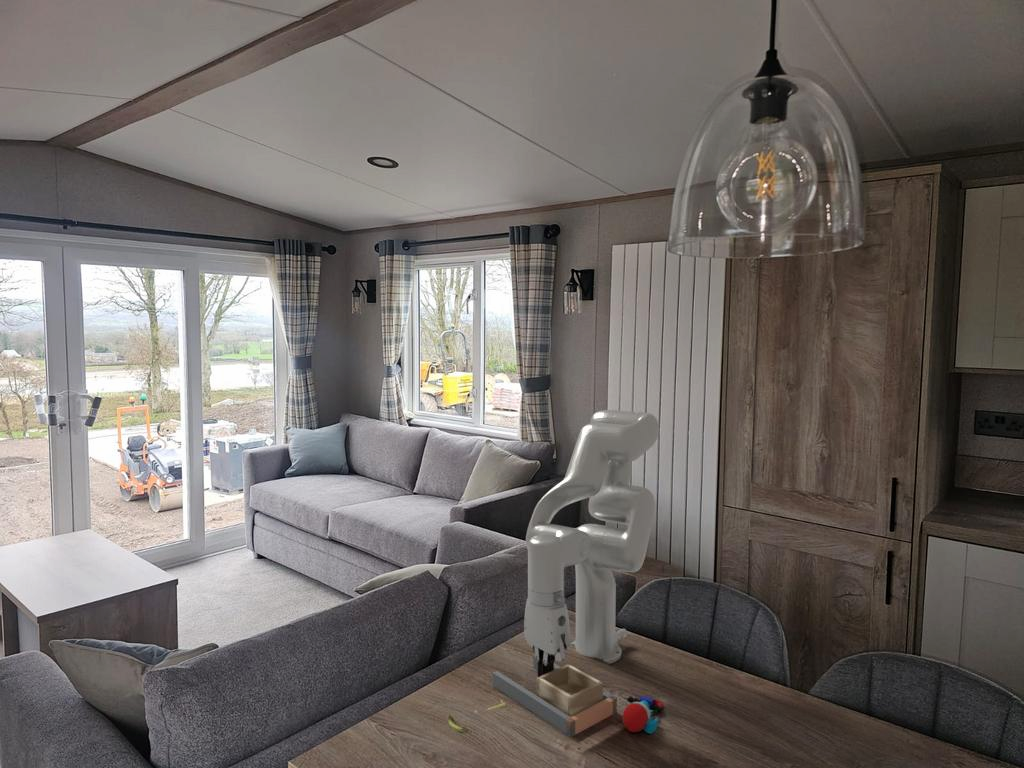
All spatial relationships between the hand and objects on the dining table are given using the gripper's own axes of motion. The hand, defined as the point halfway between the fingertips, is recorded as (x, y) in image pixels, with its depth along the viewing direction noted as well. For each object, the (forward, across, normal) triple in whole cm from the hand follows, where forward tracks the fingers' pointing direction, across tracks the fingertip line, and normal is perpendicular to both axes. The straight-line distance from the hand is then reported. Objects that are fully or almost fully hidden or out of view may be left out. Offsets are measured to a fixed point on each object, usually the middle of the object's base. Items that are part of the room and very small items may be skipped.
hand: (545, 679), depth 142 cm
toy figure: (+5, -17, -10) cm, 21 cm away
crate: (+3, -7, 0) cm, 8 cm away
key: (+5, +4, +15) cm, 17 cm away
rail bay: (+5, -2, 0) cm, 5 cm away
